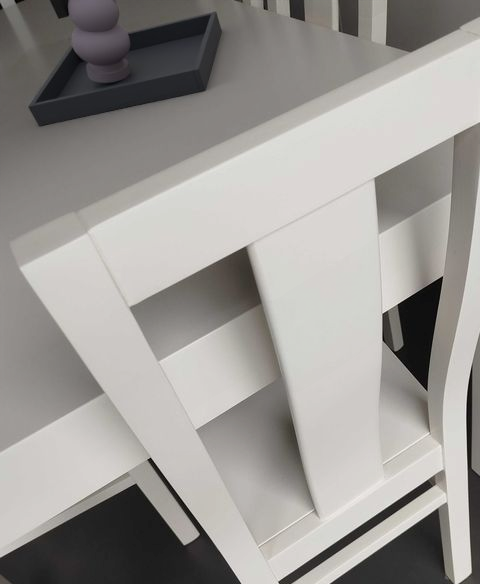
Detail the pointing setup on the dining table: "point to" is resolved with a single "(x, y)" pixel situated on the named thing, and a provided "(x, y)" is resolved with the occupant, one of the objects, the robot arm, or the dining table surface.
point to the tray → (134, 72)
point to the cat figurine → (100, 39)
